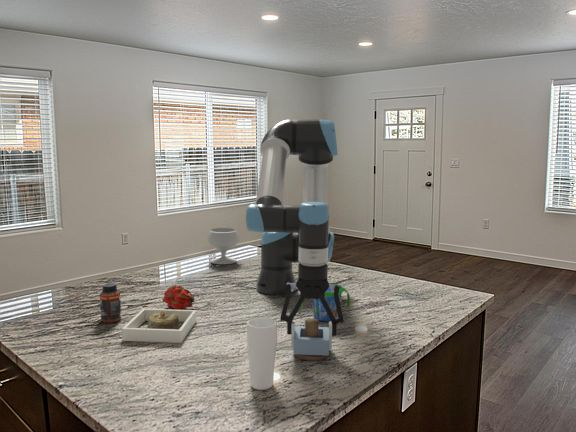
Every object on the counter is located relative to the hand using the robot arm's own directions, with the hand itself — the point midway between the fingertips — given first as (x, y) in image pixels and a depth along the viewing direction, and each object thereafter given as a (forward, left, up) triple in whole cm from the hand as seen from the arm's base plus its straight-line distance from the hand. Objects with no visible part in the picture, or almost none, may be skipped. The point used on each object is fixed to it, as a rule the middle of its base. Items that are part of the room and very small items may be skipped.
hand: (311, 346), depth 128 cm
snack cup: (-27, +4, -2) cm, 27 cm away
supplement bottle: (-19, -62, -2) cm, 65 cm away
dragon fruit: (-31, -44, -2) cm, 54 cm away
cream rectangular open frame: (-12, -44, -2) cm, 46 cm away
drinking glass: (+18, -11, -2) cm, 21 cm away
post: (0, 0, -2) cm, 2 cm away
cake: (-15, -44, -2) cm, 47 cm away
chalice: (-96, -42, -2) cm, 105 cm away
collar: (0, 0, 0) cm, 0 cm away
